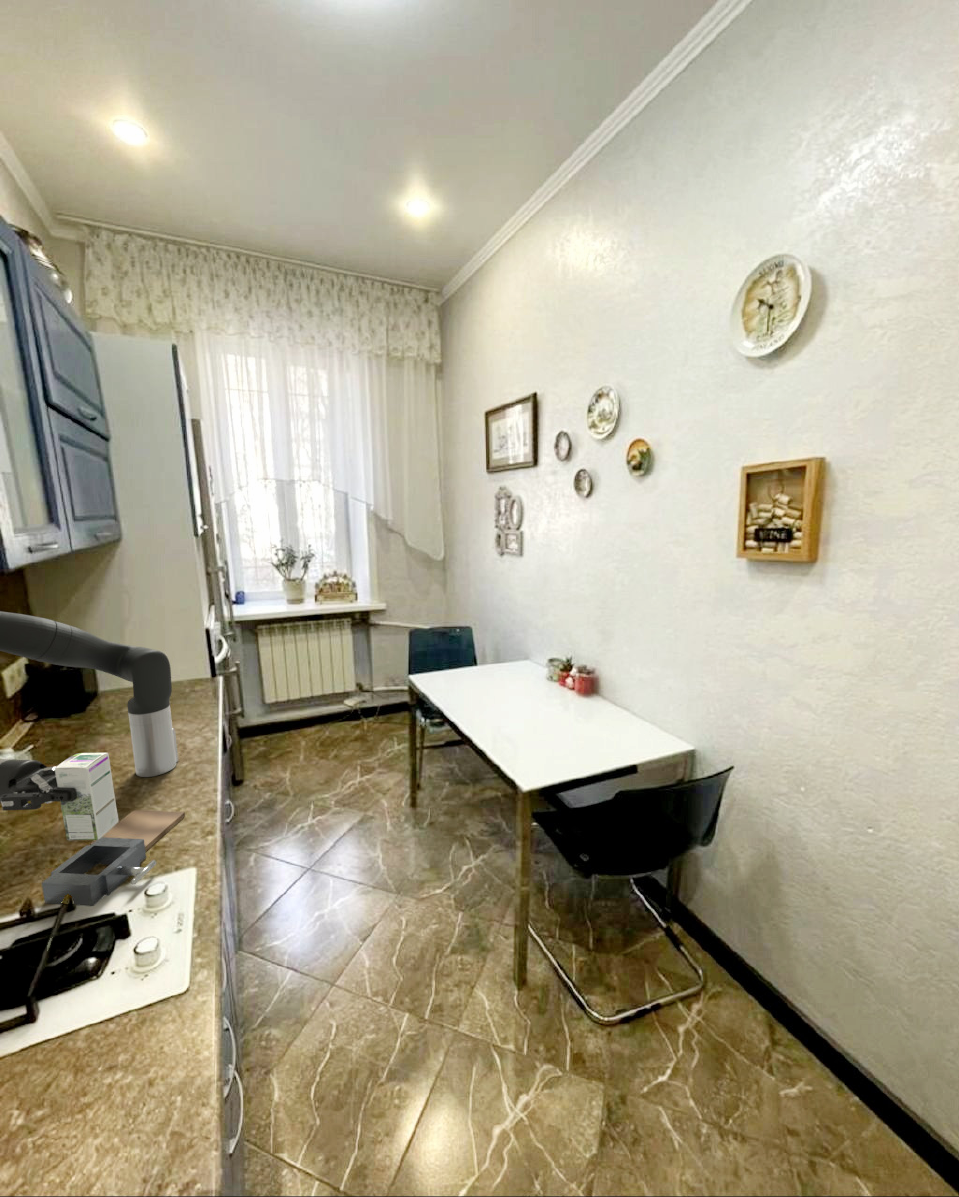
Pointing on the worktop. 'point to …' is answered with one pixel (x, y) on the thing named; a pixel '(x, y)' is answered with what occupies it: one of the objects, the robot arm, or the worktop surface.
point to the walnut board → (145, 826)
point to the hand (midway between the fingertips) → (90, 784)
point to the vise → (92, 888)
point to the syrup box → (88, 796)
